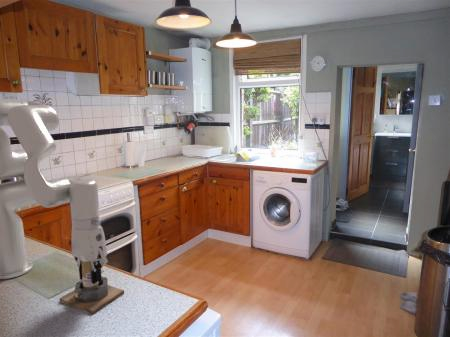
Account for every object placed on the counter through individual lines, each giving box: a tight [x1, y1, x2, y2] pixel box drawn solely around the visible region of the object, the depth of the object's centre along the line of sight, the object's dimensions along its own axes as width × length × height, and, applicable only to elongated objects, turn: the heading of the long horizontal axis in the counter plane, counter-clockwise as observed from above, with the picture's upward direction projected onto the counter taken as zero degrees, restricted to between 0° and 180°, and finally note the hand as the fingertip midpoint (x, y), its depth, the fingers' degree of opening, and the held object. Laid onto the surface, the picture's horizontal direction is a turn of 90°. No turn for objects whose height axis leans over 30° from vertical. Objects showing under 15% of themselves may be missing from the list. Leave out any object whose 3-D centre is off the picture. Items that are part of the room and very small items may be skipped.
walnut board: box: [59, 284, 125, 315], centre depth 101 cm, size 14×12×1 cm
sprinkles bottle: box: [81, 256, 99, 290], centre depth 99 cm, size 5×5×14 cm
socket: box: [74, 275, 109, 303], centre depth 100 cm, size 9×11×4 cm
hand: (90, 279), depth 100 cm, fingers closed on sprinkles bottle, 4 cm apart
